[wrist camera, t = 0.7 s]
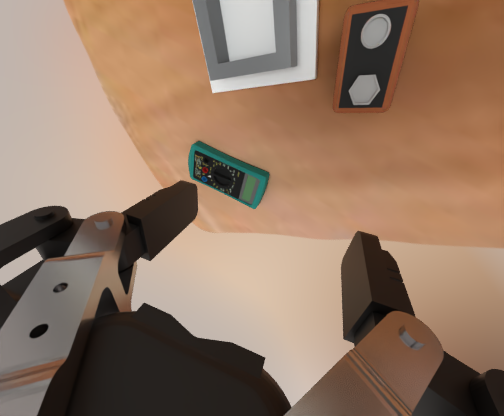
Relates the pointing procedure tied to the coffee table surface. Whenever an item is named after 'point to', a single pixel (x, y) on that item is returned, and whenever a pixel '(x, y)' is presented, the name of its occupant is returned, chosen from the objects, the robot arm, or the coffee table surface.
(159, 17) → the coffee table surface
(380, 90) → the battery
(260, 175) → the digital multimeter
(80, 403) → the robot arm
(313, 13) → the charging cradle
